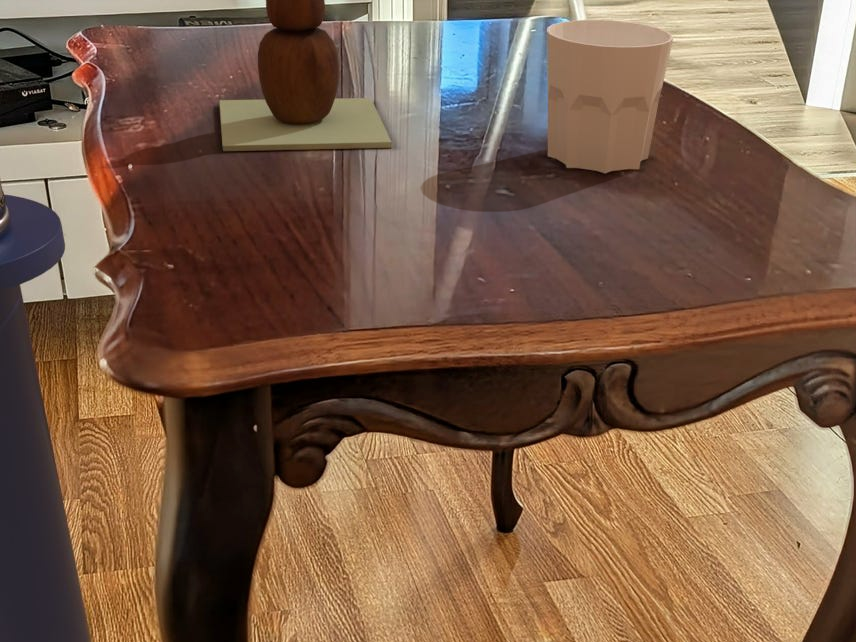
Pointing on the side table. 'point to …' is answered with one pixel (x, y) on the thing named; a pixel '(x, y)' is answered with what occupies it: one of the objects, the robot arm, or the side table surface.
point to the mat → (301, 127)
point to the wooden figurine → (298, 62)
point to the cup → (604, 91)
